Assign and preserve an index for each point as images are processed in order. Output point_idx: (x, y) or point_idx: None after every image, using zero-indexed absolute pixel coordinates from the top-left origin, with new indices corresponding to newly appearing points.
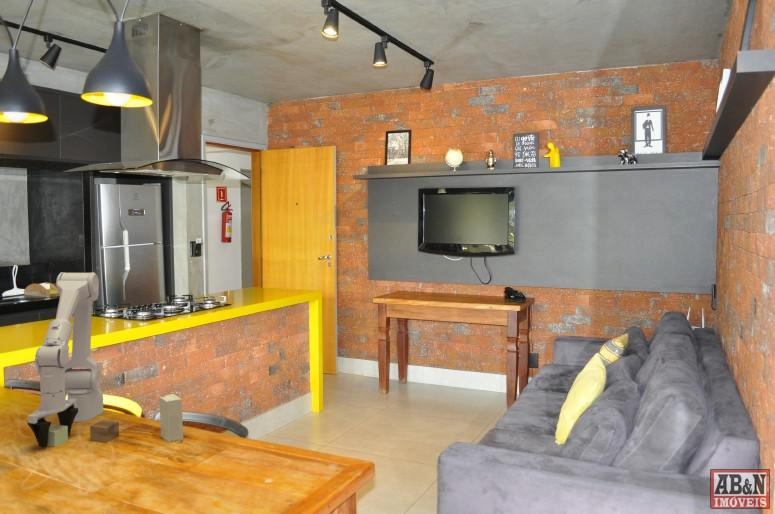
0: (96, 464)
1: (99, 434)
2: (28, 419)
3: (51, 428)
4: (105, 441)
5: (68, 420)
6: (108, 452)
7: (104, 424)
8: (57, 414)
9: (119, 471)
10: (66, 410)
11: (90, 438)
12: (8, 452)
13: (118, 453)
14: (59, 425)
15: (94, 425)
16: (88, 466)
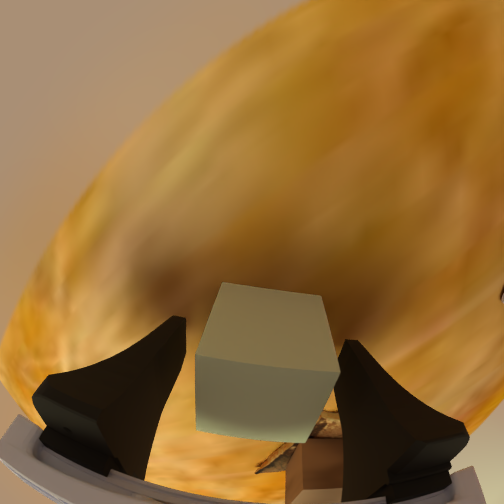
0: (166, 461)
1: (292, 478)
2: (7, 434)
3: (248, 400)
4: (286, 468)
5: (348, 449)
6: (242, 467)
7: (323, 500)
8: (400, 423)
9: (159, 482)
10: (372, 497)
11: (302, 445)
12: (135, 142)
13: (241, 478)
14: (313, 412)
15: (309, 493)
16: (150, 453)
